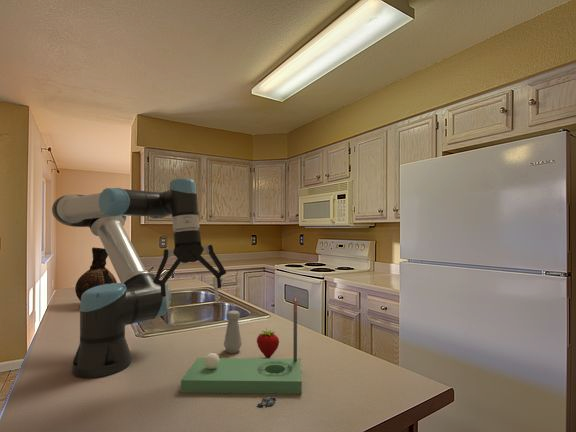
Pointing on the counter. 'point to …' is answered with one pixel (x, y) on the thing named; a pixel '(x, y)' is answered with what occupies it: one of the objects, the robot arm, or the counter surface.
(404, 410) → the counter surface
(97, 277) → the ceramic vessel
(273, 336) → the strawberry
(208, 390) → the board
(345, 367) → the counter surface
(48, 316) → the counter surface
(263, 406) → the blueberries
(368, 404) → the counter surface
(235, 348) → the salt shaker
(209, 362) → the white ball
